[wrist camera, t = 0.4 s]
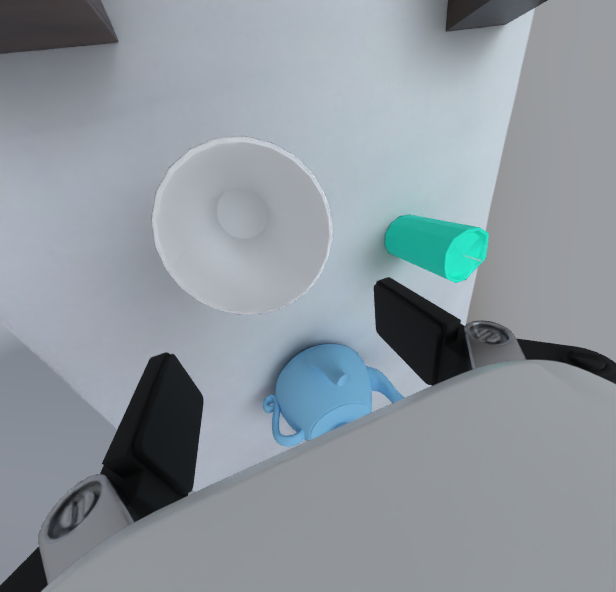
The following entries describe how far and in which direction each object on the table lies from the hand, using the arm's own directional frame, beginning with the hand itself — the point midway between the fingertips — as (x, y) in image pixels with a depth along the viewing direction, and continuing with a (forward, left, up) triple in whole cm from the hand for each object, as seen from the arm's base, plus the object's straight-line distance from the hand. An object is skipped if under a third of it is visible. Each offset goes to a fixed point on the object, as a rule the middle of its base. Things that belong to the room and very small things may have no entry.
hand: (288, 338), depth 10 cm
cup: (-3, 0, -19) cm, 20 cm away
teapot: (+26, +5, -19) cm, 33 cm away
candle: (+5, +21, -19) cm, 29 cm away
